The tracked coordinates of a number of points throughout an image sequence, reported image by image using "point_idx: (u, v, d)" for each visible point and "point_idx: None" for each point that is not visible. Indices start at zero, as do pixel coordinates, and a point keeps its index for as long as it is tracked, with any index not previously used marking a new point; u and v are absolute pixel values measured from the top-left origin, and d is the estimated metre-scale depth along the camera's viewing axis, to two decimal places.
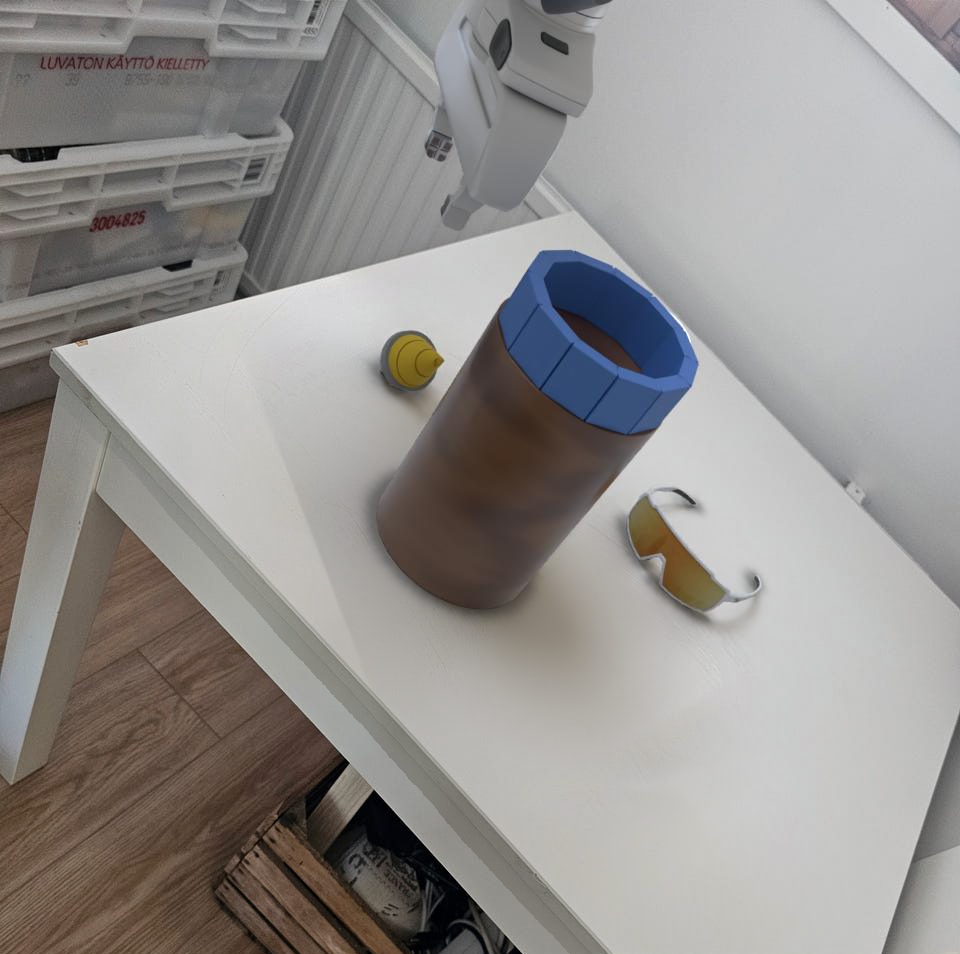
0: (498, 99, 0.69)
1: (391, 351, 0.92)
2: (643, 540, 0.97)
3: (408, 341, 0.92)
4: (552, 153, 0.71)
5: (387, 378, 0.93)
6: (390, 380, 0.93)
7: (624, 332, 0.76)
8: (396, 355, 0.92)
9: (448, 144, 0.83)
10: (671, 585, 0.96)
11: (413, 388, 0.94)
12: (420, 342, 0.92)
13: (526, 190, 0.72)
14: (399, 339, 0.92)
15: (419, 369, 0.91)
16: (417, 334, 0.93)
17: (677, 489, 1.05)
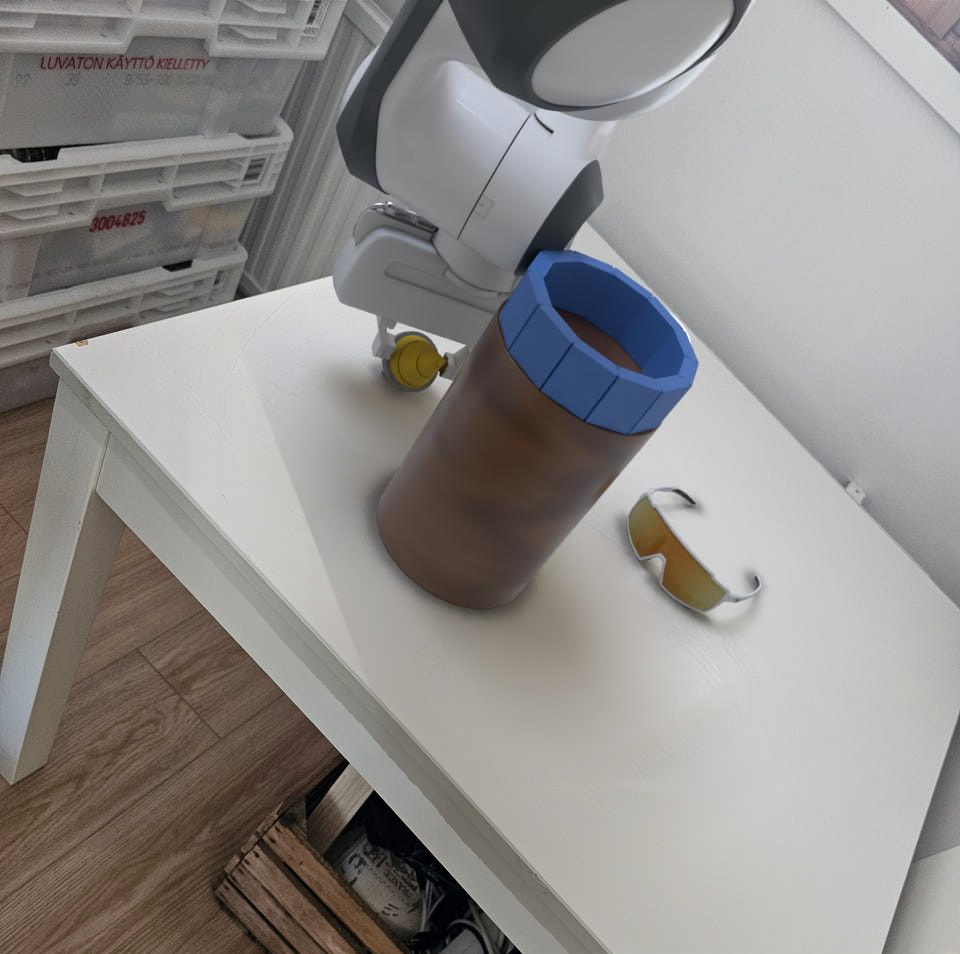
0: None
1: None
2: (643, 540, 0.97)
3: (409, 342, 0.92)
4: None
5: (388, 379, 0.94)
6: (391, 381, 0.93)
7: (624, 332, 0.76)
8: (397, 356, 0.92)
9: (394, 338, 0.92)
10: (671, 585, 0.96)
11: (414, 389, 0.94)
12: (421, 343, 0.92)
13: None
14: (401, 340, 0.93)
15: (420, 370, 0.91)
16: (418, 335, 0.93)
17: (677, 489, 1.05)
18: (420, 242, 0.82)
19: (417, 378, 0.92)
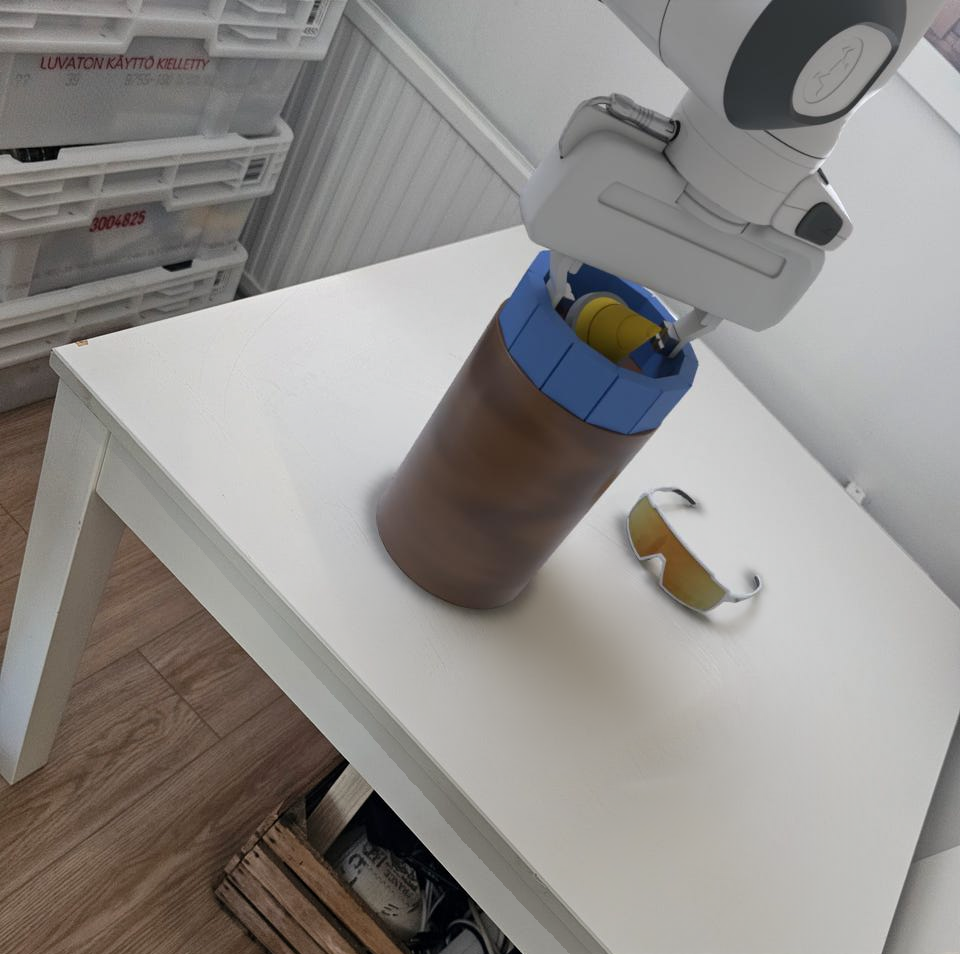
0: (813, 261, 0.66)
1: (580, 319, 0.70)
2: (643, 540, 0.97)
3: (604, 305, 0.69)
4: None
5: None
6: None
7: None
8: (587, 324, 0.69)
9: (569, 288, 0.68)
10: (671, 585, 0.96)
11: None
12: (620, 306, 0.69)
13: None
14: (590, 303, 0.70)
15: (621, 342, 0.68)
16: (612, 297, 0.71)
17: (677, 489, 1.05)
18: (651, 154, 0.59)
19: (613, 354, 0.69)
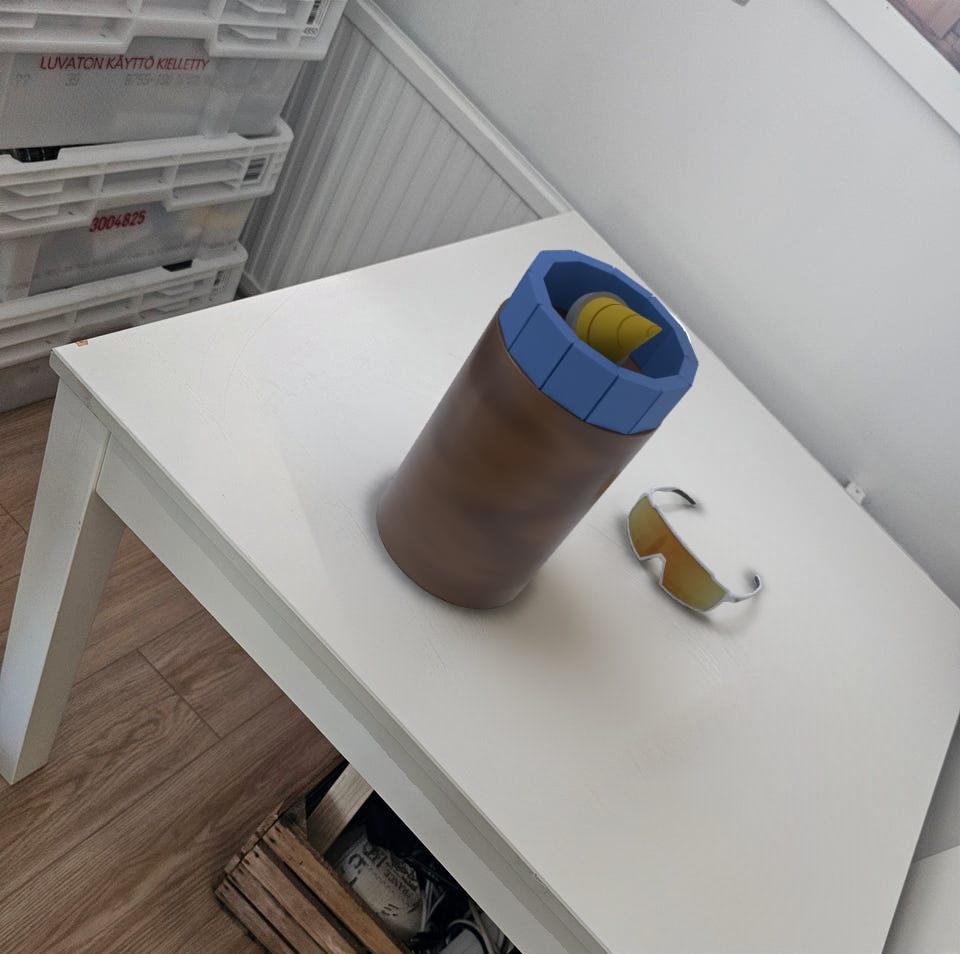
0: None
1: (580, 319, 0.70)
2: (643, 540, 0.97)
3: (604, 305, 0.69)
4: None
5: None
6: None
7: None
8: (587, 324, 0.69)
9: None
10: (671, 585, 0.96)
11: None
12: (620, 306, 0.69)
13: None
14: (590, 303, 0.70)
15: (621, 342, 0.68)
16: (612, 297, 0.71)
17: (677, 489, 1.05)
18: None
19: (613, 354, 0.69)
